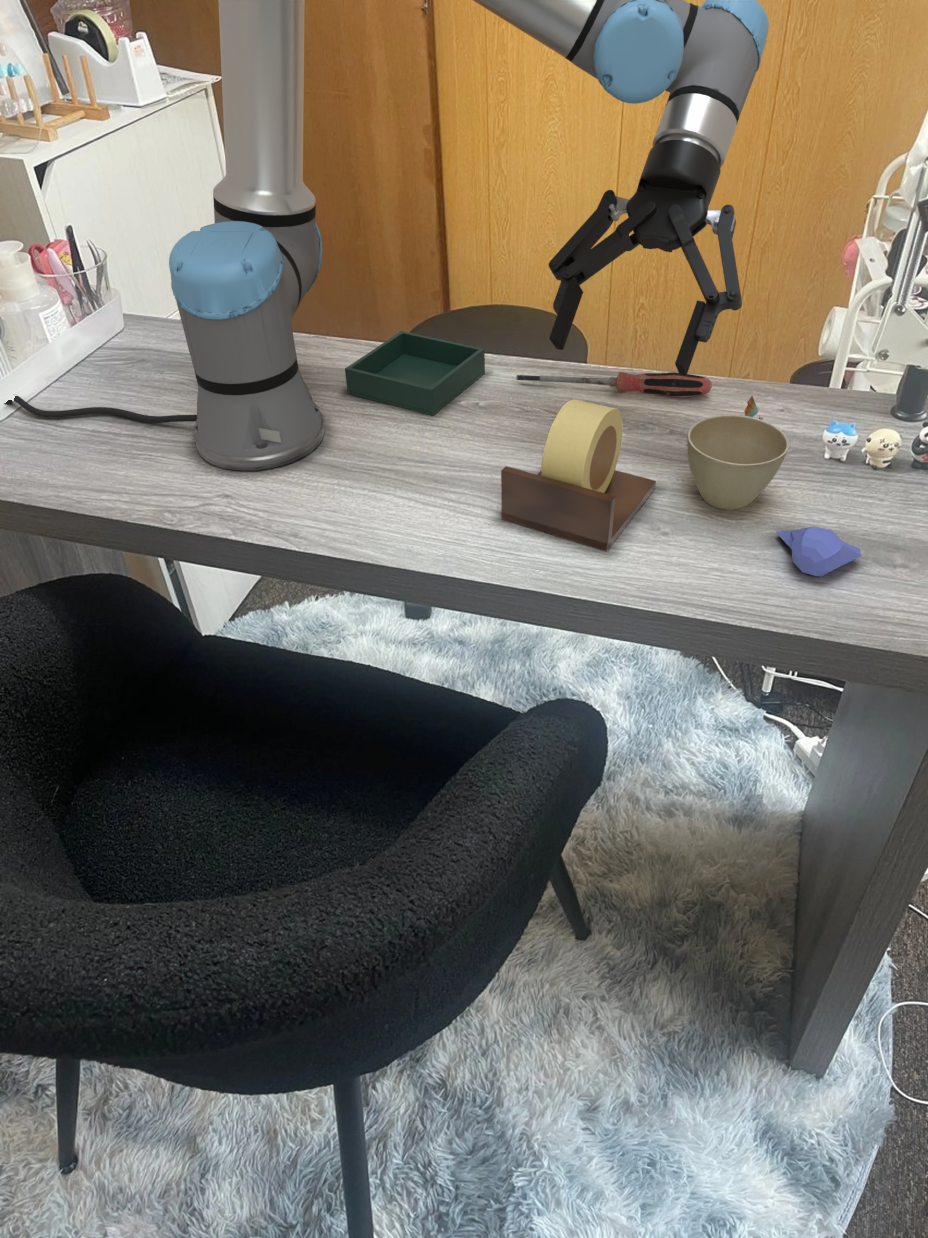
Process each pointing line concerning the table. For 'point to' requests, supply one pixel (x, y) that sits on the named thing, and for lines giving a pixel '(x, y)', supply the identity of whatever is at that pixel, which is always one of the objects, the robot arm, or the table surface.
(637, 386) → the screwdriver
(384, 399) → the tray
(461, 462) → the table surface
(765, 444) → the flower pot
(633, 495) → the phone holder
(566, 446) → the tape roll
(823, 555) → the bird figurine
